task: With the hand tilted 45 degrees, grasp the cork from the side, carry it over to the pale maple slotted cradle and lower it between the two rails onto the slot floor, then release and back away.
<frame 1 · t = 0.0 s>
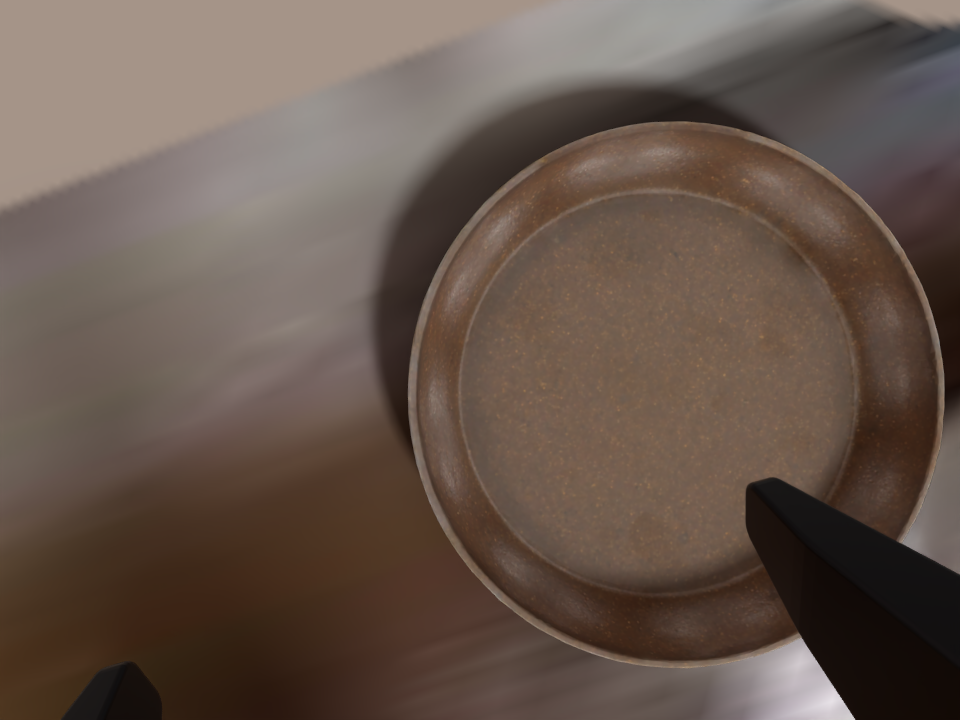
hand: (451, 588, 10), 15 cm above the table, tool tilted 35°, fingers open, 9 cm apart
plant saucer: (654, 389, 26), on the table
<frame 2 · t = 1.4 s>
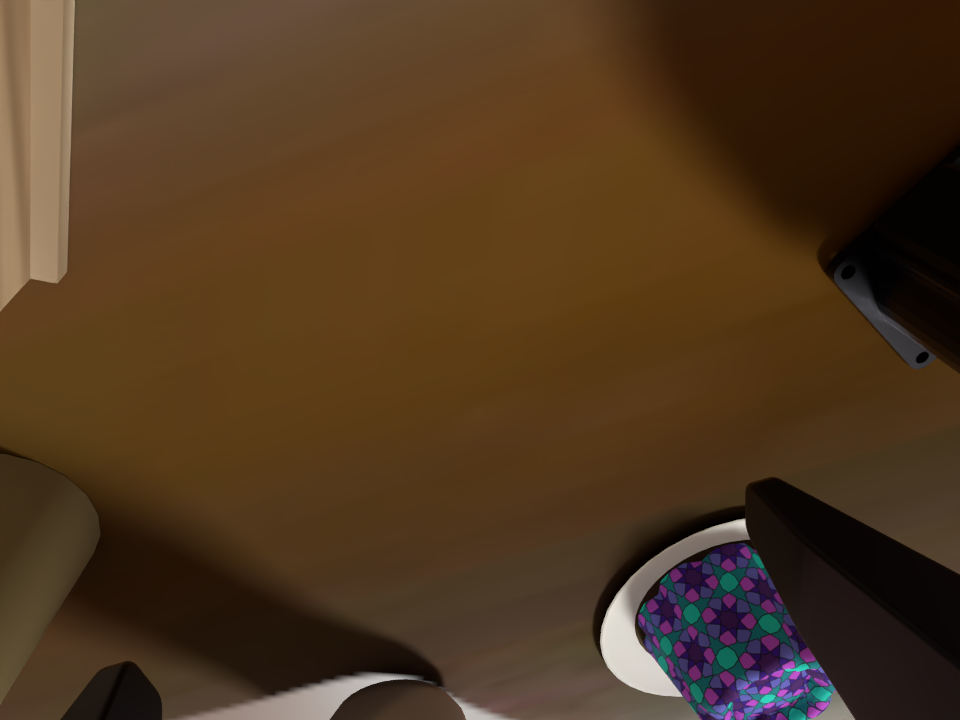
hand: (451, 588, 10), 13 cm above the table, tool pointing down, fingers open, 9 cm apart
multicoloured piece: (717, 597, 33), on the table
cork: (5, 519, 24), on the table
plastic bottle: (393, 699, 32), on the table
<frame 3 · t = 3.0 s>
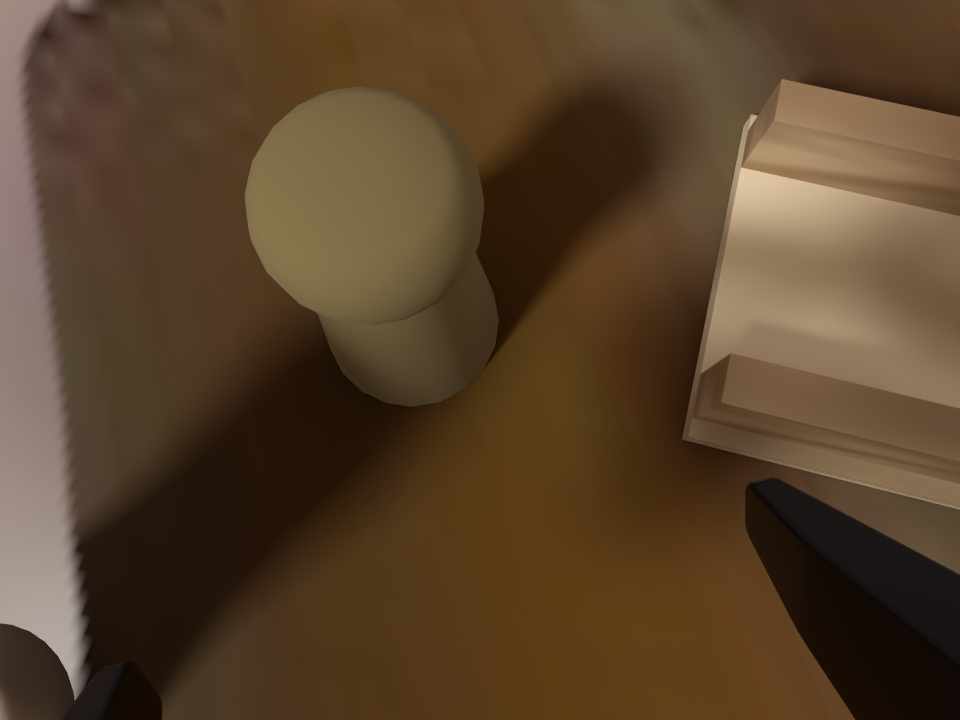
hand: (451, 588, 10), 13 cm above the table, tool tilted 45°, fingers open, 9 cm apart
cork: (413, 323, 25), on the table
cradle: (914, 322, 24), on the table
plastic bottle: (7, 719, 22), on the table
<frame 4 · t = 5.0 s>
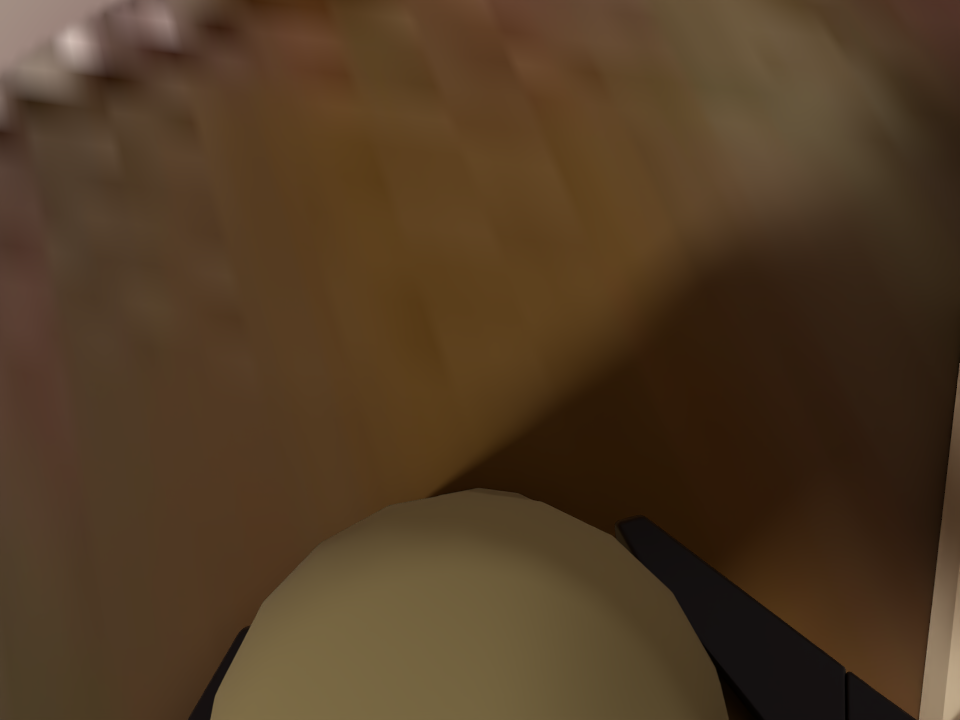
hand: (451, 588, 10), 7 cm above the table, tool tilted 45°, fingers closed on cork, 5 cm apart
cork: (482, 619, 16), on the table, touching gripper
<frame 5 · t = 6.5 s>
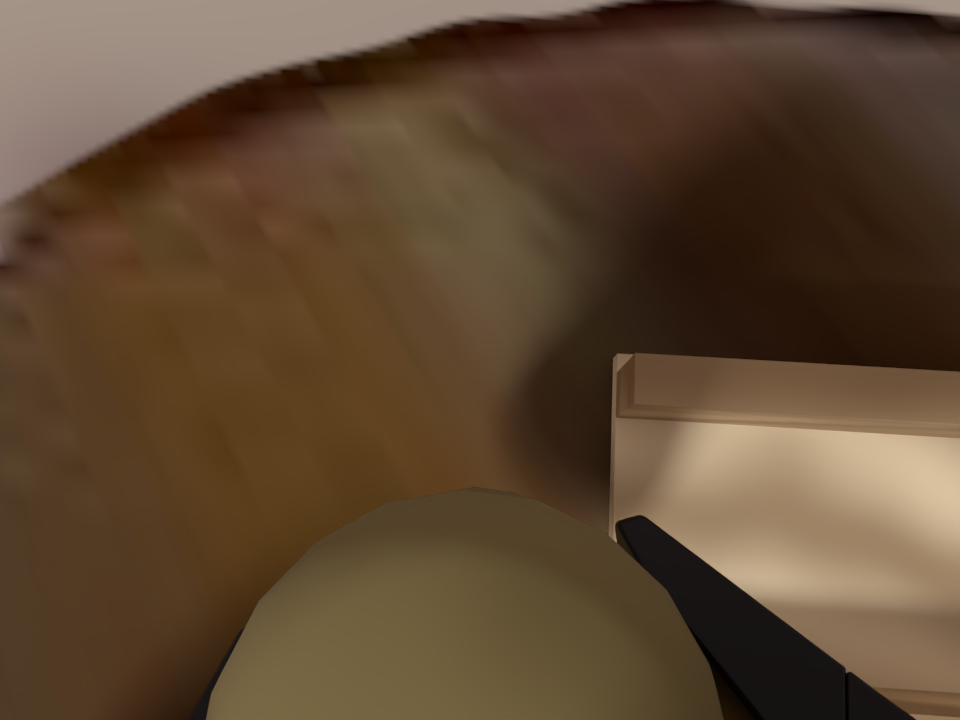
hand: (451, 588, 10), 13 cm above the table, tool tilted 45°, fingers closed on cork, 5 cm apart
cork: (477, 618, 16), point 6 cm above the table, touching gripper
cradle: (825, 551, 23), on the table
when the fingers open (9 cm above the table, at t = 8.4 s): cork drops 1 cm, resting on cradle.
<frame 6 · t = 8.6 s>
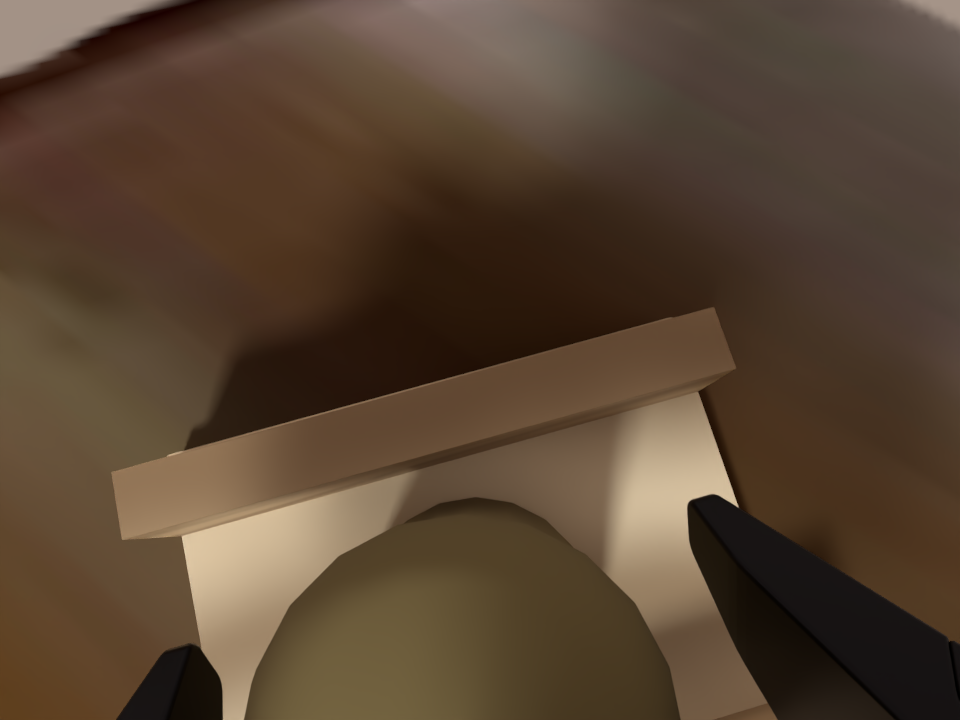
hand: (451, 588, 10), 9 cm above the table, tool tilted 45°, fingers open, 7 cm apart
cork: (476, 619, 18), point 1 cm above the table, touching cradle
cradle: (483, 607, 18), on the table
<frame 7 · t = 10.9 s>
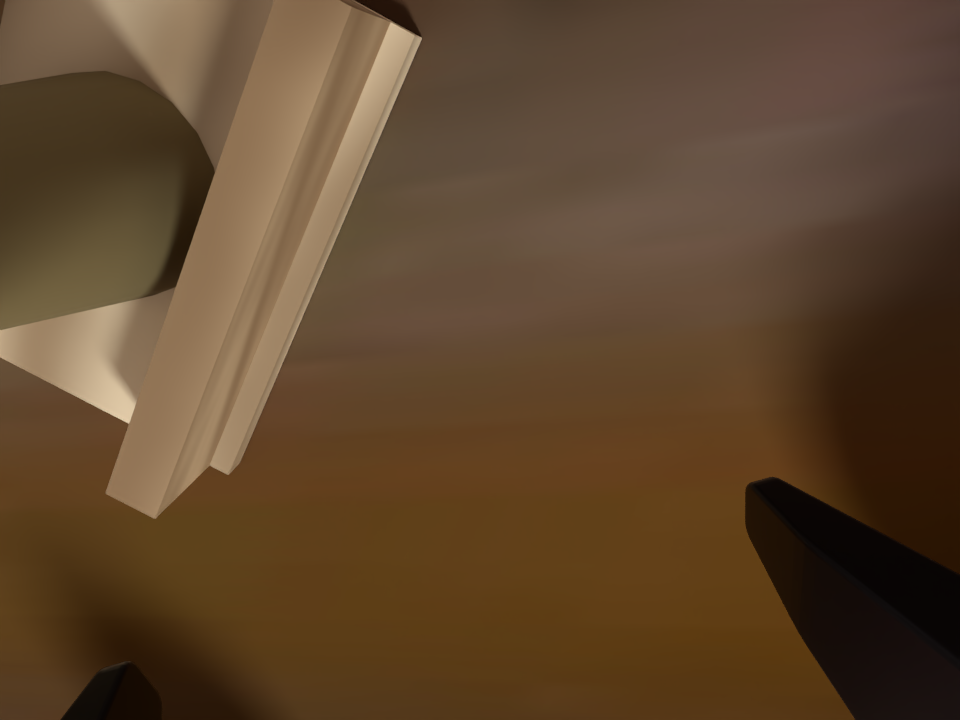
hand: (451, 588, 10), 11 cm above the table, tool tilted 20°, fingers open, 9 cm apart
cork: (119, 188, 19), point 1 cm above the table, touching cradle
cradle: (130, 176, 20), on the table
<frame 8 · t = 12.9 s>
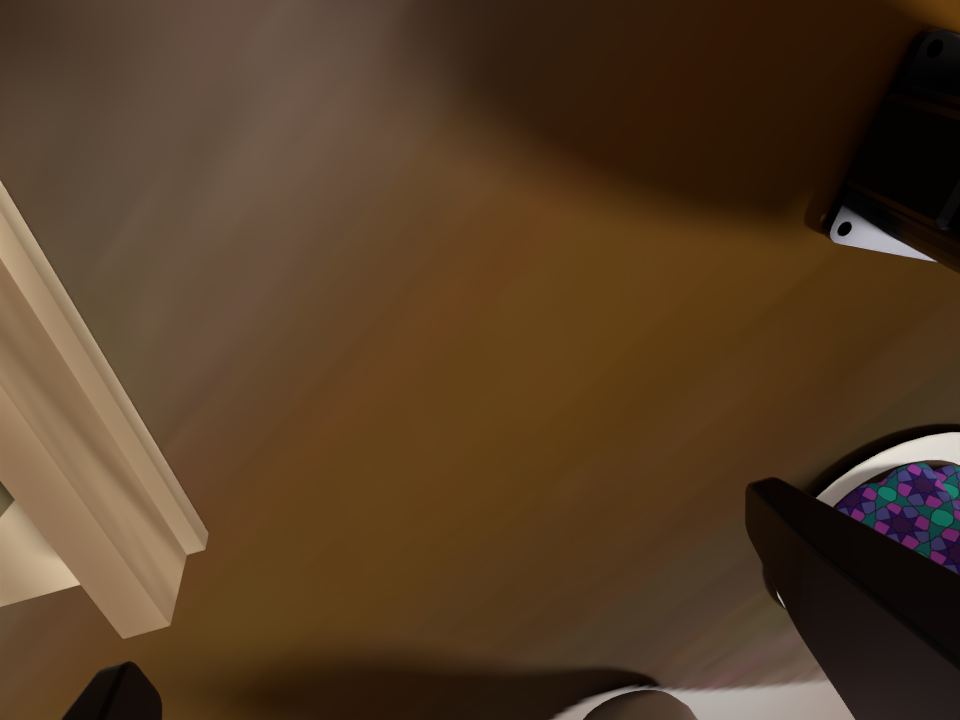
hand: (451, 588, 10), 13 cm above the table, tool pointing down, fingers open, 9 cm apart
multicoloured piece: (885, 524, 33), on the table
plastic bottle: (623, 708, 36), on the table
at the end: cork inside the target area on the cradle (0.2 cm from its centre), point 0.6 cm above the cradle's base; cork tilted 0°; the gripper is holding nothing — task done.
